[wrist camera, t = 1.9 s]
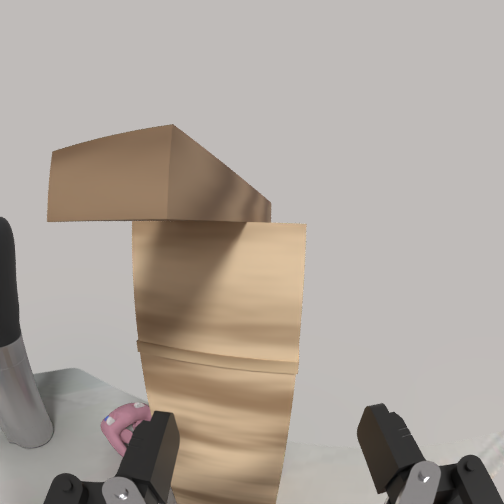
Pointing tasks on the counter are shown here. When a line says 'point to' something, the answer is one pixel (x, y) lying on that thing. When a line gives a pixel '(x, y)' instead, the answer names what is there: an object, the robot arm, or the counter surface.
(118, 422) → the pink curved piece
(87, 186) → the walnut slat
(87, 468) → the counter surface
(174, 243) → the wooden block tower
